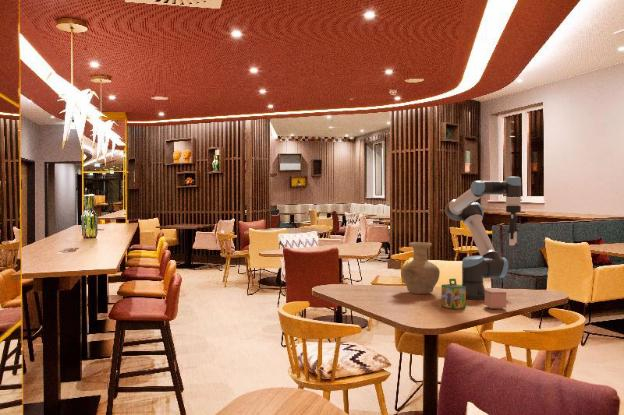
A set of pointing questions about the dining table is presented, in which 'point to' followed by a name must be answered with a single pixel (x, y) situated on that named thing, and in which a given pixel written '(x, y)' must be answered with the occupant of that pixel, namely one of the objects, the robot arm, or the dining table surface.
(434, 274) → the vase
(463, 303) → the chalk box
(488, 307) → the stud
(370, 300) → the dining table surface
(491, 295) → the terracotta cube
